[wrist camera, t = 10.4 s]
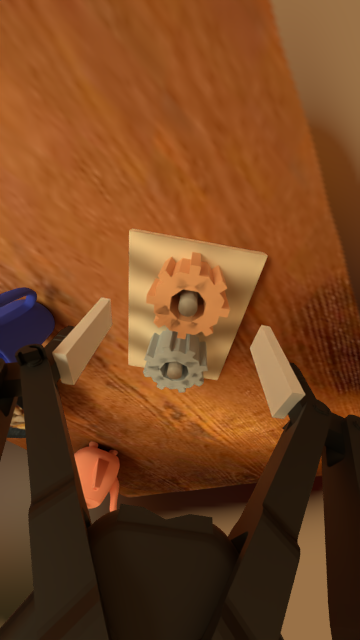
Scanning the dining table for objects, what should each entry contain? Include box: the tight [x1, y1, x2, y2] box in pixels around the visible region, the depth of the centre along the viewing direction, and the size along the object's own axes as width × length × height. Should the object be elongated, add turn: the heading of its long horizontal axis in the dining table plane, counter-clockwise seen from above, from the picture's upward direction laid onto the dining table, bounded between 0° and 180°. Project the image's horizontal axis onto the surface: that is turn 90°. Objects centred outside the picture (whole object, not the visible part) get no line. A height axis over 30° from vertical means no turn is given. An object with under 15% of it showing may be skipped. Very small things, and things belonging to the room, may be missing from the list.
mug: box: [0, 288, 55, 363], centre depth 26 cm, size 8×12×10 cm
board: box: [128, 229, 268, 380], centre depth 26 cm, size 22×16×7 cm
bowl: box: [7, 396, 26, 438], centre depth 37 cm, size 17×17×10 cm
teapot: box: [74, 441, 120, 512], centre depth 53 cm, size 16×17×14 cm
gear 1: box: [146, 252, 230, 339], centre depth 23 cm, size 9×9×5 cm
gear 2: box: [143, 328, 208, 392], centre depth 28 cm, size 9×9×5 cm
